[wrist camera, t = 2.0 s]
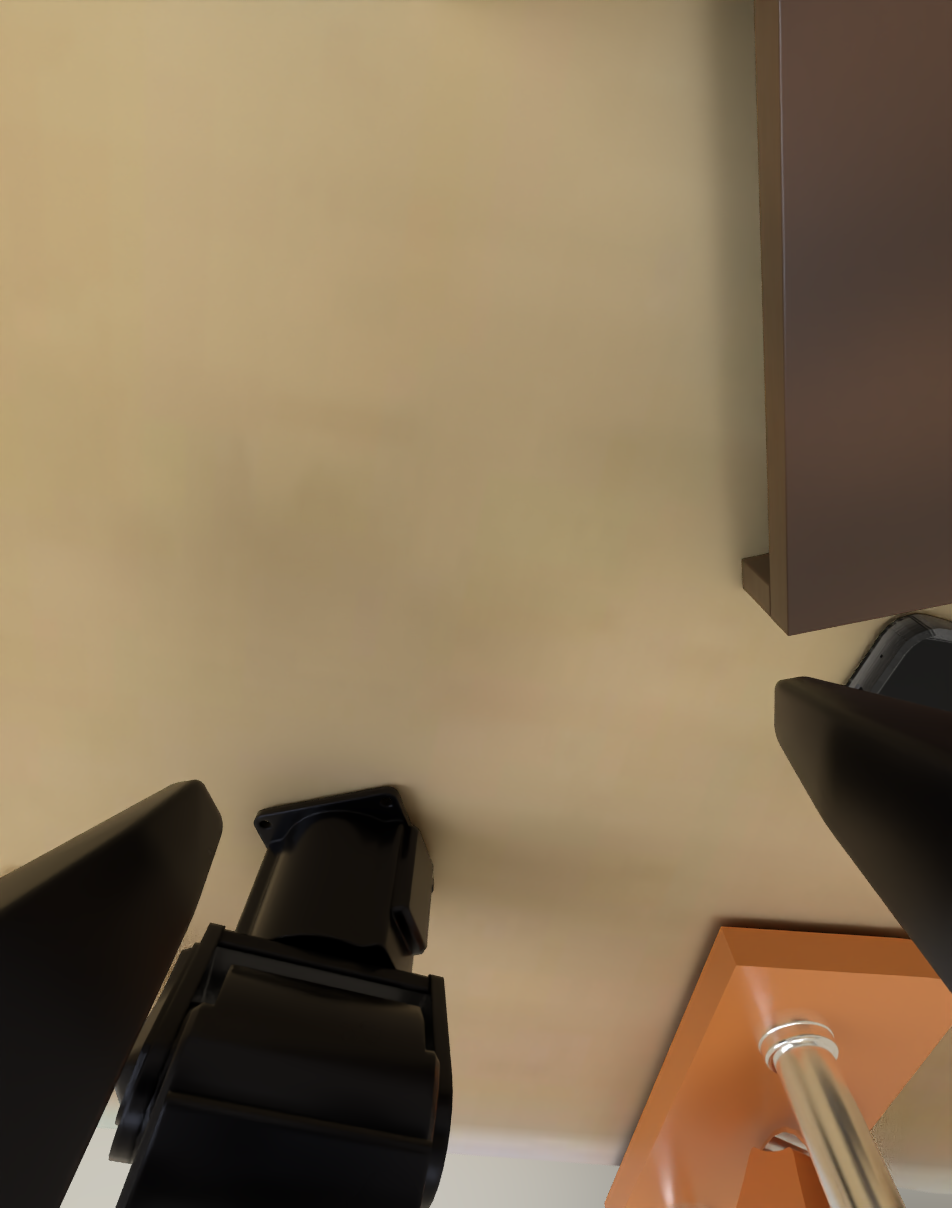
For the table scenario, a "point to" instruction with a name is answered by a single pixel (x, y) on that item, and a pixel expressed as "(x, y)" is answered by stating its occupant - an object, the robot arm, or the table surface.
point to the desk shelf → (855, 308)
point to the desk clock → (785, 1074)
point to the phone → (910, 662)
